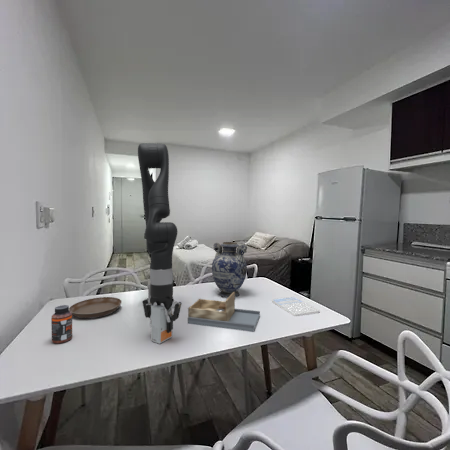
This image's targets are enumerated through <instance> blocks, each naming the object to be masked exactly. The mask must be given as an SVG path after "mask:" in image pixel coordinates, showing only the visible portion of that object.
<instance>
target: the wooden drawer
mask: <svg viewBox="0 0 450 450" xmlns="http://www.w3.org/2000/svg"><path fill="white" fill-rule="evenodd" d="M235 300H236V297H235V292H233V293H232V294H231V295H230V296H229V297H226V300H223V301H222V300H213V299H203V298H198V299H197V300H196V301H195V302H194V303H193V304H191V305H190V306H189V307H188V308H187V309H188V310H187V313H188V314H187V316H188V317H195V318H203V319H211V320H220V321H229V320H230V318H231V317H232V315H233V314H234V312H235V309H236V308H235V307H236V305H235V304H236V303H235V302H236V301H235ZM221 303H226V312H223V311H217V309H219V305H220V304H221ZM188 317H187V318H188Z"/></svg>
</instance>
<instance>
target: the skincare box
mask: <svg viewBox="0 0 450 450" xmlns="http://www.w3.org/2000/svg"><path fill="white" fill-rule="evenodd" d="M171 308H172V309H173V305H172V306H171ZM169 311H170V309H169V310H168V311H167V312H169ZM172 337H173V330H172V331H171V332H170V333H167V319H166V316H165V315H164V308H163V307H161V306H159V305H158V306H151V320H150V341H151V342H154V343H156V344H159V345H160V344H162V343H164V342H165V341H167V340H169V339H171V338H172Z"/></svg>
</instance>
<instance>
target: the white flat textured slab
mask: <svg viewBox="0 0 450 450" xmlns="http://www.w3.org/2000/svg"><path fill="white" fill-rule="evenodd" d="M271 303H273V304H274V305H276V306H278V307H279V308H280V309H282V310H284V311H285V312H287V313H289V314H290V315H292V316H294V317H303V316H309V315H314V314H319V313H321V311H320V309H319V308H317V307H314V306H313V305H311V304H309V303H308V302H305V301H303V300H301V299H299V298H297V297H295V296H291V297H283V298H282V297H281V298H274V299H272V300H271Z"/></svg>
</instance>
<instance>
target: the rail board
mask: <svg viewBox="0 0 450 450" xmlns="http://www.w3.org/2000/svg"><path fill="white" fill-rule="evenodd" d="M260 317H261V311H259V310H252V309H243V308H235V312H234V314H233V315H232V317H231V318H230V320H229V321H220V320H211V319H203V318H195V317H187V324H191V325H197V326H198V325H200V326H205V327H206V326H207V327H212V328H213V327H215V328H222V329H229V330H235V331H236V330H237V331H243V332H244V331H246V332H254V331H255V330H256V326H257V325H258V321H259V319H260Z"/></svg>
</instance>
